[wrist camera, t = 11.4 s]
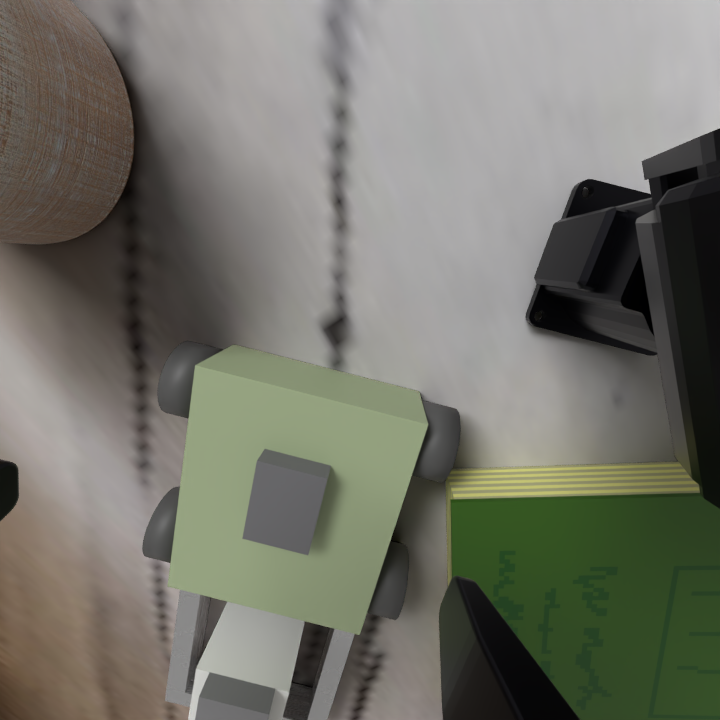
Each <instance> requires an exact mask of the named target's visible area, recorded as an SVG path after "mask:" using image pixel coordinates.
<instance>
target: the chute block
mask: <svg viewBox="0 0 720 720" xmlns="http://www.w3.org/2000/svg"><path fill="white" fill-rule="evenodd" d="M304 623H305V621H302V620H298V619H294V618H290V617H286V616H282V615H278V614H274V613H270V612H267V611H263V610H259V609H255V608H251V607H247V606H243V605H239V604H235V603H231V602H227V604H226V606H225V608H224V610H223V612H222V614H221V616H220V619H219V621H218V623H217V625H216V627H215V629H214V631H213V634H212V636H211V638H210V640H209V642H208V644H207V646H206V649H205V651H204V653H203V655H202V657H201V659H200V661H199V664H198V666H197V668H196V672H195V679H194V685H193V692H192V698H191V704H190V711H189V717H188V720H282V718H283V714H284V710H285V706H286V702H287V698H288V695H289V690H290V686H291V682H292V677H293V673H294V668H295V664H296V659H297V655H298V650H299V646H300V641H301V637H302V632H303V628H304Z"/></svg>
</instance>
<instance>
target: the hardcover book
mask: <svg viewBox="0 0 720 720" xmlns="http://www.w3.org/2000/svg"><path fill="white" fill-rule="evenodd" d="M446 527H447V578H448V586H449V583H450V581H451V579H452V578H453V576H461V577H465V578H469V579H472V580H474V581H475V582H476V583H477V584H478V585H479V586H480V588H481V589H482V590H483V592H484V593H485V594H486V596H487V597H488V598H489V600H490V601H491V602H492V604H493V605H494V606H495V608H496V609H497V610H498V612H499V613H500V614H501V616H502V617H503V618H504V619H505V621H506V622H507V623H508V625H509V626H510V627H511V629H512V630H513V631H514V633H515V634H516V635H517V637H518V638H519V639H520V641H521V642H522V643H523V645H524V646H525V647H526V649H527V650H528V651H529V652H530V654H531V655H532V656H533V658H534V659H535V660H536V662H537V663H538V664H539V666H540V667H541V668H542V670H543V671H544V672H545V674H546V675H547V676H548V678H549V679H550V680H551V681H552V683H553V684H554V685H555V687H556V688H557V689H558V691H559V692H560V693H561V695H562V696H563V697H564V699H565V700H566V701H567V703H568V704H569V705H570V707H571V708H572V709H573V711H574V712H575V713H576V714H577V716H578V717H579V718H580V720H720V509H719V508H718V507H716V506H714V505H713V504H711V503H710V502H708V501H707V500H705V499H704V498H703V497H702V496H701V495H700V490H699V484H697V483H696V482H695V481H694V480H692V478H691V477H690V476H689V474H688V473H687V472H686V471H685V469H684V468H683V467H682V465H681V464H680V463H679V461H677V462H647V463H616V464H586V465H555V466H525V467H495V468H464V469H452V470H451V472H450V474H449V476H448V477H447V479H446Z"/></svg>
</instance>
